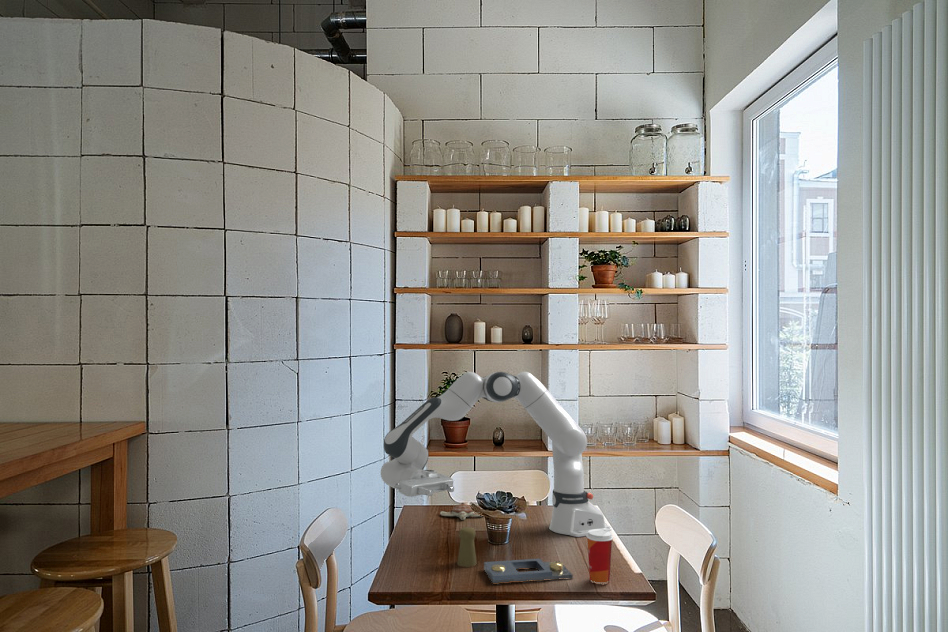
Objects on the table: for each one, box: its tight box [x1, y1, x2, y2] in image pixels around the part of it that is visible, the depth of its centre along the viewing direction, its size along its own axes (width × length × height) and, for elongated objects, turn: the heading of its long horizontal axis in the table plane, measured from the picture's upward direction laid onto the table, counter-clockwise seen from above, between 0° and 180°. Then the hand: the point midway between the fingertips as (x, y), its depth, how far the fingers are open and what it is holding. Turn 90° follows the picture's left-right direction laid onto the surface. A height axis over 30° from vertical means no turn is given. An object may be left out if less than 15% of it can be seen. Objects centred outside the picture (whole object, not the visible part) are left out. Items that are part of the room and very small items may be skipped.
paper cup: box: [585, 529, 614, 582], centre depth 181 cm, size 8×8×14 cm
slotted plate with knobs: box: [483, 558, 574, 583], centre depth 185 cm, size 24×12×3 cm, turn 102°
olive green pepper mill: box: [456, 526, 478, 568], centre depth 194 cm, size 6×6×11 cm
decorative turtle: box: [439, 503, 481, 521], centre depth 248 cm, size 18×17×5 cm
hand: (442, 491), depth 204 cm, fingers open, 8 cm apart
